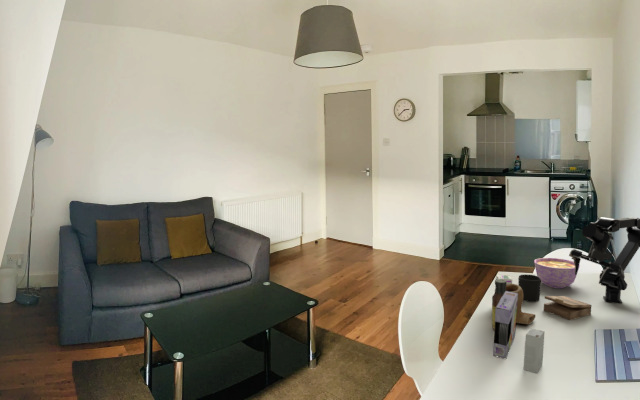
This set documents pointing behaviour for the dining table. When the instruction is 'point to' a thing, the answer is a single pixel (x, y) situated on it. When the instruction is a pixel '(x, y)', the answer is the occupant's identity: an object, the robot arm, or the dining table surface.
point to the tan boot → (520, 305)
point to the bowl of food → (555, 272)
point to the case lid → (567, 301)
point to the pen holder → (530, 287)
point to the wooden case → (566, 310)
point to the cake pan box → (505, 324)
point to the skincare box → (534, 350)
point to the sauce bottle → (497, 297)
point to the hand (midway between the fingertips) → (587, 279)
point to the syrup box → (504, 278)
